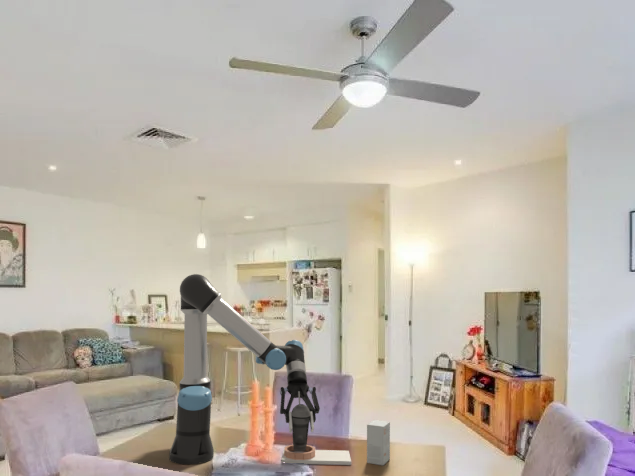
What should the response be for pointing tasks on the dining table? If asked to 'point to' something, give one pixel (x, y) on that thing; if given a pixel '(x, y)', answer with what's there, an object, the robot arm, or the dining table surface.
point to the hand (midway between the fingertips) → (301, 430)
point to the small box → (378, 442)
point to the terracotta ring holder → (299, 453)
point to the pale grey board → (324, 458)
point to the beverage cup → (300, 426)
